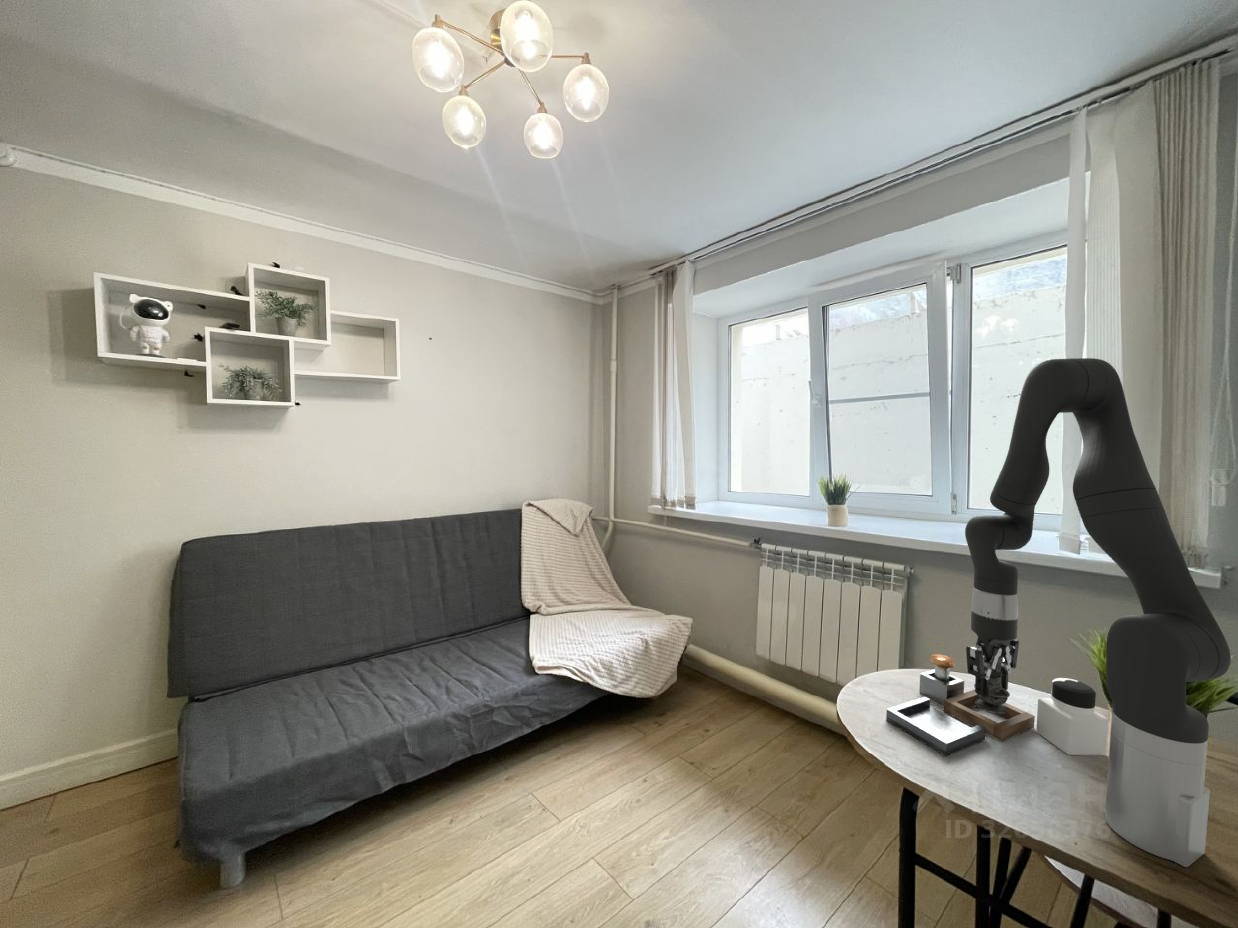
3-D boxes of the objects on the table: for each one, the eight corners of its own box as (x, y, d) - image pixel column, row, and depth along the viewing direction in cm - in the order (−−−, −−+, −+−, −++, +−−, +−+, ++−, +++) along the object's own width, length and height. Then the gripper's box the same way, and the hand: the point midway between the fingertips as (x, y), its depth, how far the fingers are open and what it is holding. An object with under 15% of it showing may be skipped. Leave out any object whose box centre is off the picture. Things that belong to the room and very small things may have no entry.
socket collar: (1034, 727, 96) (1034, 715, 96) (1001, 741, 92) (1002, 729, 91) (975, 699, 106) (975, 689, 106) (943, 711, 102) (944, 699, 101)
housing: (963, 699, 106) (964, 680, 106) (946, 705, 103) (947, 686, 103) (936, 686, 111) (937, 668, 111) (919, 692, 109) (920, 673, 109)
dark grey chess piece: (971, 696, 102) (973, 641, 102) (1006, 703, 99) (1008, 647, 99) (975, 709, 97) (976, 651, 97) (1011, 717, 94) (1013, 658, 94)
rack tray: (985, 740, 92) (986, 727, 92) (945, 756, 87) (946, 743, 87) (924, 707, 103) (924, 696, 103) (886, 720, 98) (886, 708, 98)
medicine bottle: (1107, 756, 87) (1111, 693, 87) (1068, 755, 88) (1072, 693, 87) (1071, 732, 95) (1075, 674, 94) (1035, 731, 95) (1038, 673, 94)
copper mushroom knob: (957, 691, 106) (959, 661, 106) (945, 695, 104) (946, 664, 104) (937, 681, 110) (939, 652, 110) (925, 685, 108) (926, 656, 108)
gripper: (993, 623, 91) (990, 708, 92) (1036, 612, 97) (1033, 693, 97) (952, 610, 98) (950, 690, 99) (994, 601, 104) (992, 677, 104)
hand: (991, 691), depth 98 cm, fingers closed on dark grey chess piece, 6 cm apart
